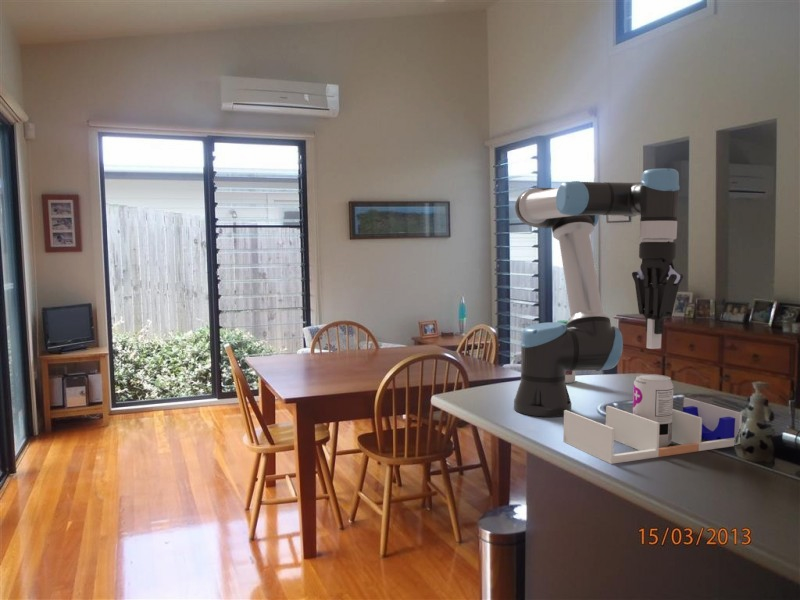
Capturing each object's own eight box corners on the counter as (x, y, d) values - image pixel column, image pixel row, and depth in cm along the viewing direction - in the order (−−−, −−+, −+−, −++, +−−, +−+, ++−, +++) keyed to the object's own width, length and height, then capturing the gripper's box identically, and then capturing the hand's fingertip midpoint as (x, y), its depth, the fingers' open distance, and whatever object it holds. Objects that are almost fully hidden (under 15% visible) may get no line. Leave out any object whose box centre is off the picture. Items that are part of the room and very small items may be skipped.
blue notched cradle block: (677, 432, 152) (678, 407, 151) (691, 430, 154) (692, 406, 153) (718, 446, 141) (719, 420, 140) (733, 444, 142) (735, 418, 142)
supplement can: (633, 447, 140) (635, 379, 139) (631, 436, 148) (633, 372, 147) (673, 450, 137) (675, 381, 136) (668, 439, 145) (671, 374, 144)
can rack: (610, 463, 129) (611, 428, 128) (563, 441, 144) (564, 410, 143) (740, 444, 141) (742, 413, 141) (684, 426, 156) (685, 397, 156)
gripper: (694, 241, 134) (689, 351, 136) (649, 241, 146) (645, 342, 149) (666, 241, 132) (662, 354, 134) (623, 241, 144) (619, 344, 146)
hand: (653, 348), depth 141 cm, fingers closed
